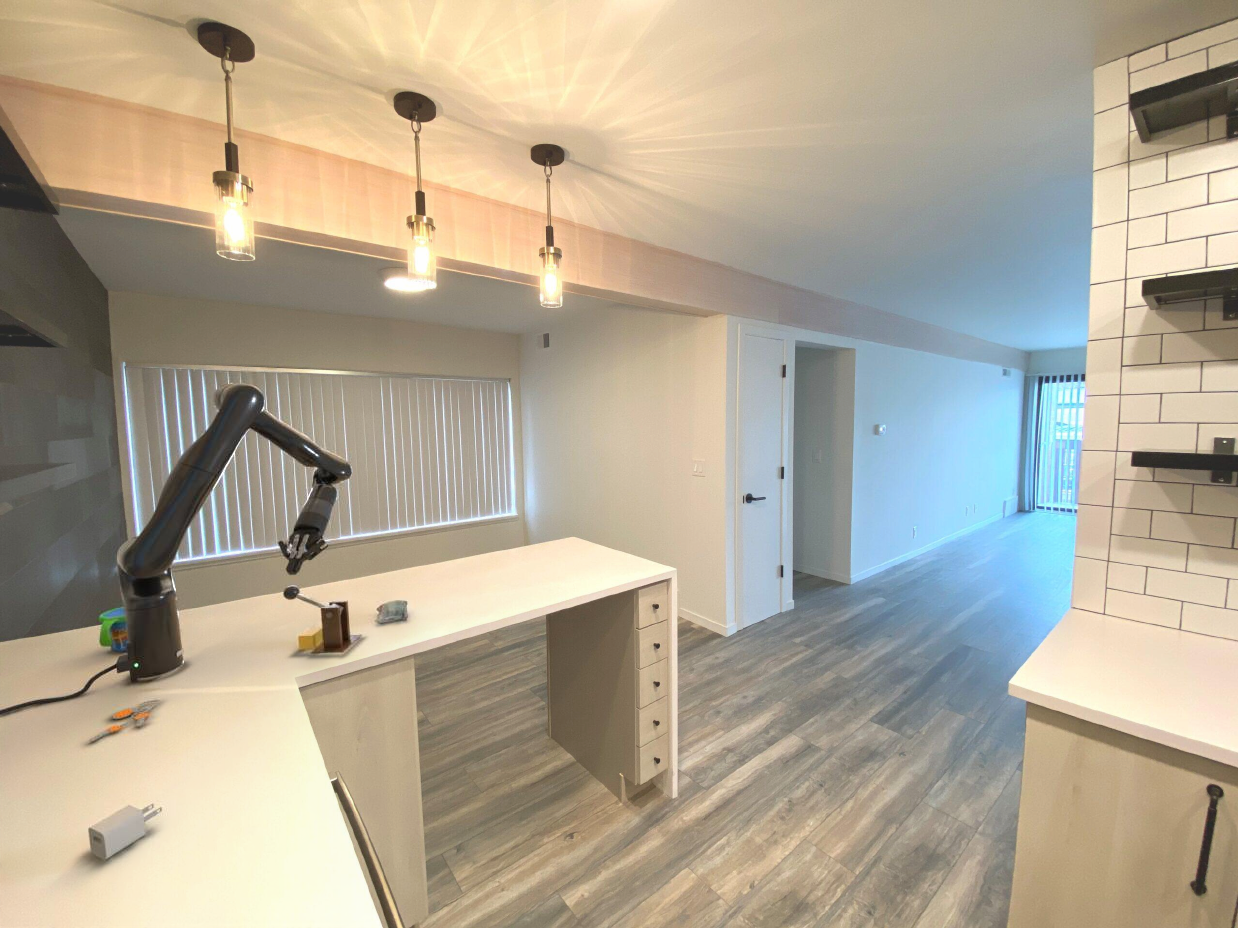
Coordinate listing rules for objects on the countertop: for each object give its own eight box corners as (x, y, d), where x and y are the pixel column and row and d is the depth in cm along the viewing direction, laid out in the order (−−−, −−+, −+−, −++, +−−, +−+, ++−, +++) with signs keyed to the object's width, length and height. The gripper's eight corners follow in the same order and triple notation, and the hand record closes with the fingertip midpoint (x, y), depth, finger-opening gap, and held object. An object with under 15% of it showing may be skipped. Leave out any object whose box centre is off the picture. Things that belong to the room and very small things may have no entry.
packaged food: (375, 629, 144) (374, 612, 143) (377, 614, 155) (376, 599, 154) (408, 624, 147) (407, 607, 147) (407, 610, 158) (407, 595, 158)
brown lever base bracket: (311, 656, 128) (307, 612, 127) (332, 639, 138) (329, 597, 137) (343, 655, 128) (339, 611, 127) (362, 638, 138) (359, 596, 137)
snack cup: (137, 634, 143) (133, 600, 142) (175, 633, 144) (172, 598, 143) (81, 661, 128) (76, 622, 127) (124, 659, 128) (119, 621, 127)
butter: (293, 655, 129) (292, 638, 128) (311, 641, 137) (310, 625, 136) (312, 655, 129) (311, 637, 128) (329, 641, 137) (328, 624, 136)
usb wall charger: (91, 852, 71) (87, 825, 70) (151, 815, 77) (148, 791, 77) (107, 860, 69) (103, 833, 69) (167, 822, 76) (164, 797, 75)
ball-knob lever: (277, 598, 129) (283, 586, 129) (286, 593, 133) (291, 581, 133) (333, 621, 130) (338, 609, 130) (340, 616, 134) (346, 604, 134)
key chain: (123, 707, 106) (123, 703, 106) (166, 699, 109) (166, 696, 109) (84, 743, 95) (84, 739, 94) (134, 734, 97) (133, 730, 97)
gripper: (283, 511, 139) (257, 567, 128) (332, 509, 140) (310, 565, 129) (297, 525, 145) (272, 580, 134) (343, 524, 146) (323, 579, 134)
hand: (291, 573), depth 131 cm, fingers closed
